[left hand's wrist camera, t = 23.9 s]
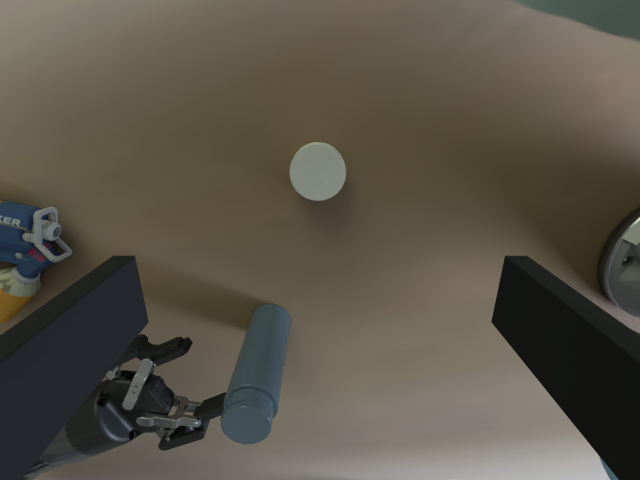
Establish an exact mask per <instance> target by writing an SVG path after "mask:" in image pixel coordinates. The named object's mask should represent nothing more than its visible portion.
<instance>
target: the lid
mask: <svg viewBox="0 0 640 480" xmlns="http://www.w3.org/2000/svg"><path fill="white" fill-rule="evenodd" d="M290 179H291V183H292V185H293V187H294V188H295V190H296V191H297V192H298V193H299V194H300V195H302V196H303V197H305V198H307V199H310V200H314V201H322V200H327V199H329V198H331V197H333V196H334V195H336V194H337V193H338V192H339V191H340V190H341V188H342V187H343V185H344V182H345V179H346V166H345V163H344V160H343V158H342V156H341V154H340V153H339V152H338V151H337V149H335V148H334V147H333V146H331V145H329V144H327V143H323V142H313V143H309V144H307V145H305V146H303V147H302V148H301V149H300V150H299V151H298V152H297V153H296V154H295V156H294V158H293V160H292V162H291V165H290Z"/></svg>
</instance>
